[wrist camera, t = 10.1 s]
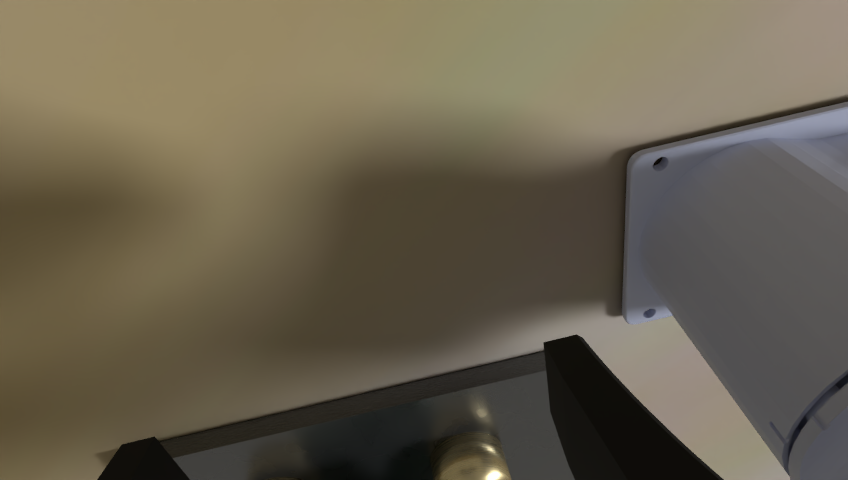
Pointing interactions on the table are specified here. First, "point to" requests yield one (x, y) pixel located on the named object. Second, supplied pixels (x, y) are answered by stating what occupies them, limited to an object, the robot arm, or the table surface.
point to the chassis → (397, 434)
